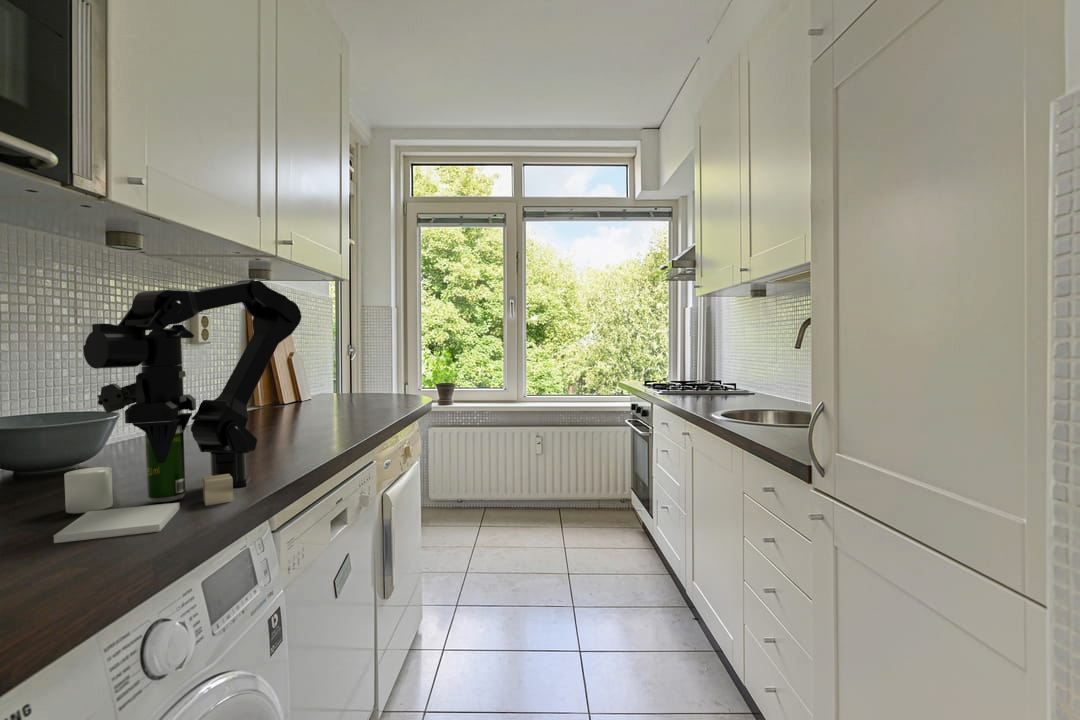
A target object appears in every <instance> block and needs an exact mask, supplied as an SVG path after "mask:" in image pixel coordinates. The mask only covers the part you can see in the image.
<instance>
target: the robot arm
mask: <svg viewBox="0 0 1080 720" xmlns="http://www.w3.org/2000/svg"><path fill="white" fill-rule="evenodd" d="M134 296H135V297H134V298H133V301H132V304H131V307H130V308H129V310H128V311H127V313H126V314H125V315H124V316H123V318H122V319H121V321H120V322H119V323H118V324H112V323H93V324H92V325H91V328H92V330H91V332H90V333H89V334H88V336H87V337H86V340H85V342H84V343H85V344H84V345H83V348H82V351H83V357H84V359H85V362H86V363H87V364H88V366H90V367H91V368H92V369H117V368H119V369H120V368H122V369H123V368H136V367H138V366H141V369H140V370H141V372H138V373H137V374H136V375H135V382H134V383H130V384H128V385H124V386H122V387H121V386H120V385H118V384H117V383H115V382H114V383H111V384H107V385H104V386H102V387H100V394H99V395H98V394H97V398H98V401H97V404H98V405H99V406H102V407H103V409H104V411H105V413H106V414H110V413H113V412H116V411H119V410H122V409H125V407H126V406H129V407H127V409H126V410H124V422H125V423H124V424H132V426H134V427H137V428H138V429H139V430H141V431H143V432H144V433H145V434H147V437H148V439H149V442H150V445H151V447H152V450H153V453H154V456H155V458H156V461H157V463H164V462H165V461H166V459H167V456H168V453H169V451H170V448H171V445H172V442H173V439H174V436H175V433H176V431H177V428H178V425H182V427H181V428H182V430H183V434H184V432H185V430H186V428H187V425H188V424H189V421H190V419H191V420H192V424H191V427H190V432H191V435H192V438H193V439H194V441H195V442H196V444H197V446H198V449H199V452H201V453H210V455H209V456H210V476H216V475H223V474H230V475H231V476H232V478H233V488H234V487H235V488H236V487H244V486H245V487H246V486H247V485H248V484H249V482H250V480H251V475H247V467H246V466H247V465H246V464H247V463H246V454H247V453H250V452H253V451H255V450H256V447H257V444H258V439H257V437H256V436H254V435H253V434H252V433H251V432H250V431H249V430H248V429H247V424H248V422H249V415H248V414H249V413H248V403H249V402H250V401H251V398H252V396H253V394H254V392H255V391H256V388H257V386H258V385H259V382H260V381H261V378H262V376H263V375H264V372H265V371H266V369H267V367H268V365H269V363H270V361H271V360H272V358H273V356H274V354H275V351H276V349H277V347H278V345H279V344H280V343H282V342H283V341H284V340H286V339H287V338H288V337H290V336H291V335H292V334H293V333H294V332H295V331H296V329H297V328H298V326H299V325H300V323H301V320H302V312H301V310H300V308H299V306H298V304H297V303H296V302H295V301H293V300H290V299H289V298H288V297H287V295H286V296H285V295H284V294H282V293H279V292H278V291H276V290H274V289H273V288H270V287H268V286H267V285H266V284H265V283H263V282H262V281H261V280H258V279H244V280H243V279H242V280H238V281H236V282H232V283H231V282H230V283H226V284H220V285H215V286H209V287H204V288H197V289H192V290H191V289H172V288H171V289H158V290H143V291H141V292H138V293H136V294H135V295H134ZM237 304H242V305H243V307H244V308H245V311H246V312H247V314H249V315H250V316H251V317H252V321H251V324H252V332H253V333H252V336H251V338H250V340H249V341H248V343H247V345H246V347H245V349H244V351H243V352H242V355H241V356H240V358H239V360H238V362H237V364H236V365H235V367H234V369H233V371H232V373H231V375H230V376H229V378H228V380H227V382H226V383H225V386H223V388H222V391H221V393H220V394H219V396H218V397H216V398H215V399H203V400H202V401H201V403H200V404H199V406H198V409H197V405H196V404H197V403H196V402H197V401H196V400H197V398H195V397H194V396H193V395H191V394H184V378H186V376H187V375H186V370H183V350H182V349H183V347H182V339H193V338H194V336H195V334H194V333H193V332H191V331H190V330H188V329H187V328H186V327H185V325H184V324H181V323H183V322H185V321H188V320H189V319H192V318H194V317H195V316H197V315H198V314H199V313H202V312H204V311H208V310H213V309H217V308H222V307H226V306H231V305H237ZM169 325H172V326H171V327H170V328H168V326H169ZM146 331H150V332H149V333H148V334H146ZM196 409H197V412H196V413H195V414H194V415H193V413H192V412H193V411H195V410H196ZM183 410H184V411H186V410H188V411H190V412H186V413H185V412H184V411H183ZM183 412H184V413H183ZM192 415H193V416H192Z"/></svg>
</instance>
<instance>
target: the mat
mask: <svg viewBox="0 0 1080 720" xmlns="http://www.w3.org/2000/svg"><path fill="white" fill-rule="evenodd" d="M180 506H181V505H180V502H172V503H170V502H169V503H161V504H152V505H151V504H150V505H140V506H132V507H131V506H129V507H120V508H110V509H102V510H98V511H88V512H86V513H84V514H82V515H81V516H79V518H77V519H75V520H74V521H73V522H71V523H70V524H68V525H67V526H65V527H64V528H62V529H61V530H60V531H58V532H56V534H54V535H53V544H58V543H59V544H60V543H68V542H75V541H76V542H77V541H86V540H93V539H104V538H111V537H123V536H131V535H139V534H147V533H149V534H150V533H155V532H156V533H158V532H161V531H162V530H163V528H165V526H166V525H167V524H168V523H169V521H170V520H171V519H172V518H173V517H174V516H175V514H176V513H177V512H178V511H179V510H180Z"/></svg>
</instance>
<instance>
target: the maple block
mask: <svg viewBox="0 0 1080 720" xmlns="http://www.w3.org/2000/svg"><path fill="white" fill-rule="evenodd" d="M202 498H203V499H202V500H203V503H204V505H205V506H213V505H217V504H224V503H231V502H234V487H233V478H232V476H231V475H230V474H223V475H216V476H211V475H210V476H209V475H208V476H202Z"/></svg>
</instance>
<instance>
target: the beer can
mask: <svg viewBox="0 0 1080 720" xmlns="http://www.w3.org/2000/svg"><path fill="white" fill-rule="evenodd" d="M181 427H182V425H178V428H177V431H176V433H175V436H174V439H173V442H172V445H171V448H170V451H169V453H168V456H167V459H166V461H165V462H164V463H157V461H156V458H155V456H154V453H153V450H152V447H151V445H150V442H149V439H148V437H147V434H146V433H145V435H144V437H145V439H144V440H145V462H146V463H145V466H146V483H147V484H146V489H147V490H146V491H147V498H148V500H149V502H151V503H165V502H166V503H167V502H168V503H169V502H173V501H177V500H180V499H183V498H184V497H185V494H186V493H187V492H186V491H187V490H186V469H185V468H186V467H185V463H186V462H185V442H184V439H185V437H184V433H183V430H182V428H181Z"/></svg>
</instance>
